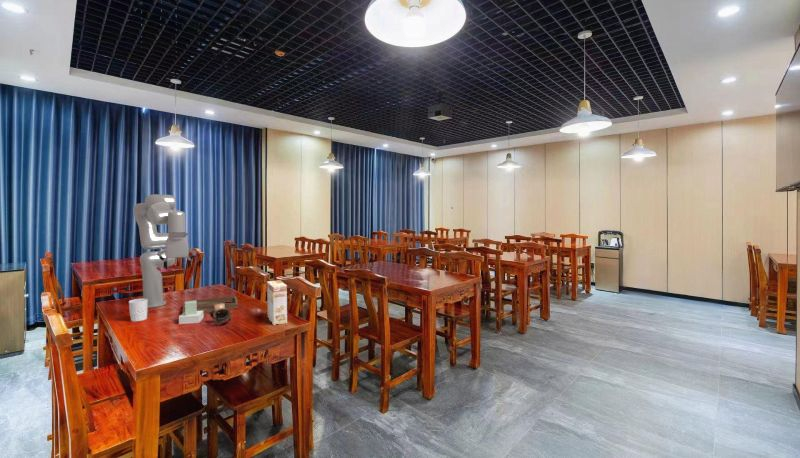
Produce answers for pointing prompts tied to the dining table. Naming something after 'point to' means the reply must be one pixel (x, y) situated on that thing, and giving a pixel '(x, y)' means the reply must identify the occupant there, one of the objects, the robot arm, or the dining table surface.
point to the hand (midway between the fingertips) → (177, 268)
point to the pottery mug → (220, 316)
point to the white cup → (138, 309)
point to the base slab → (191, 318)
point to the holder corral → (214, 301)
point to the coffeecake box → (277, 302)
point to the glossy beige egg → (219, 306)
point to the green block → (190, 308)
